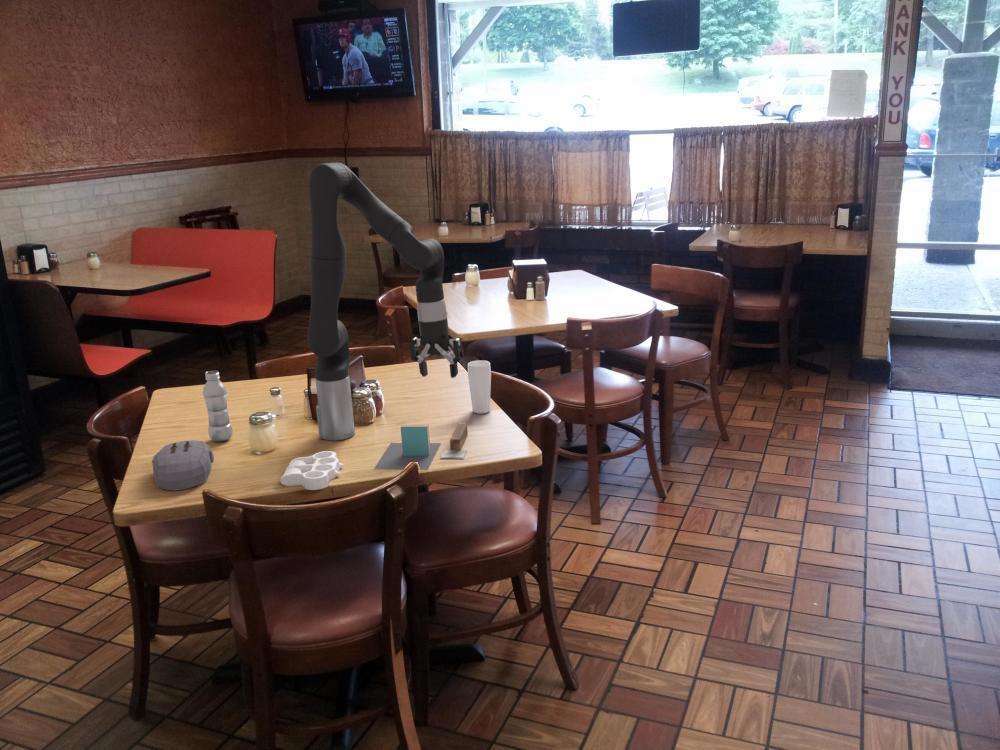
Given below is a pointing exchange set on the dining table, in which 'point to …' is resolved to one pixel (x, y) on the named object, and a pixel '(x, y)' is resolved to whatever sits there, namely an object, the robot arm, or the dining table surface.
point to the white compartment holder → (312, 470)
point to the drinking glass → (480, 385)
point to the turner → (457, 443)
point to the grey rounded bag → (182, 465)
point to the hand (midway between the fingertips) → (439, 376)
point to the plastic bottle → (217, 407)
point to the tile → (415, 439)
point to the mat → (405, 457)
